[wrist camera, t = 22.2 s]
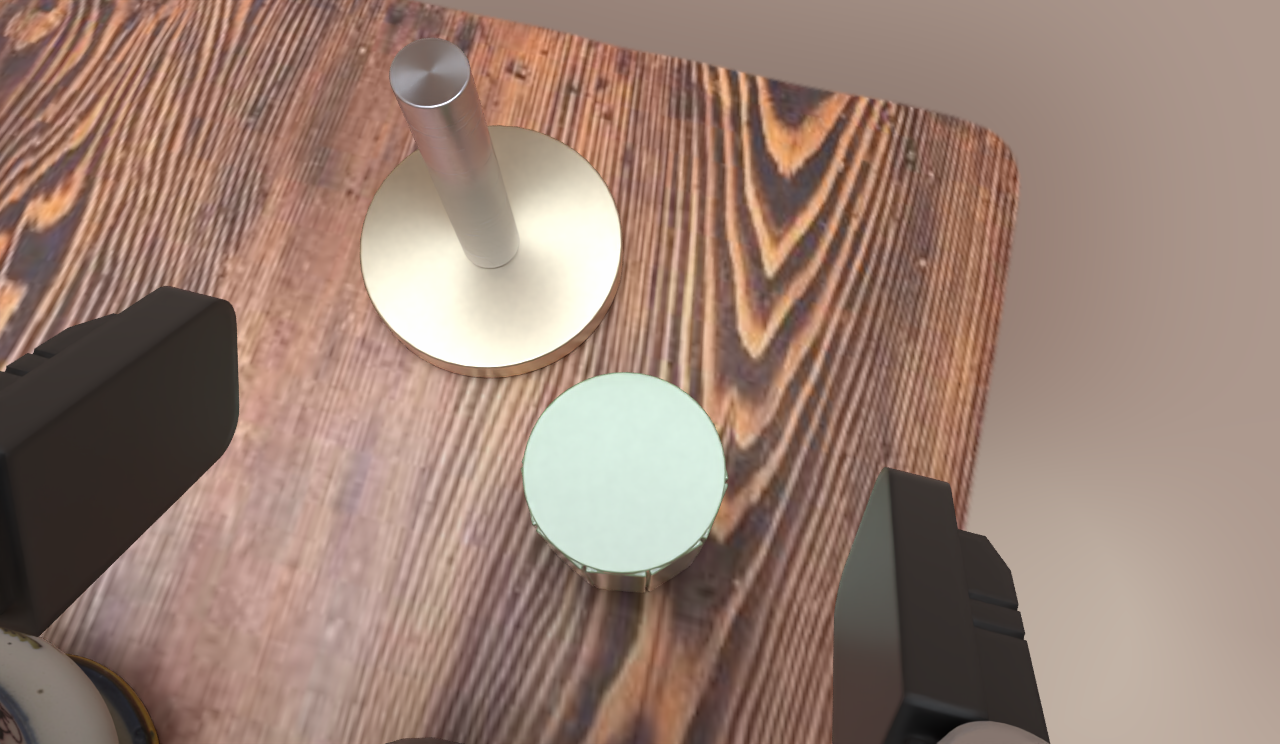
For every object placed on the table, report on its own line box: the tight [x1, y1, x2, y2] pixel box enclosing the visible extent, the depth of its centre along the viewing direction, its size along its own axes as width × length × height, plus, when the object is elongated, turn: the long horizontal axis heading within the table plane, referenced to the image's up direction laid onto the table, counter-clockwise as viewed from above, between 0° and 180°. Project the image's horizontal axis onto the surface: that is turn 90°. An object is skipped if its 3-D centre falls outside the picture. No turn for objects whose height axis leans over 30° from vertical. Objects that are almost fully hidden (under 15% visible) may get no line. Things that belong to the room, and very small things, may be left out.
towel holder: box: [360, 38, 623, 378], centre depth 36 cm, size 11×11×14 cm
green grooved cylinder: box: [521, 372, 728, 593], centre depth 35 cm, size 6×7×9 cm
